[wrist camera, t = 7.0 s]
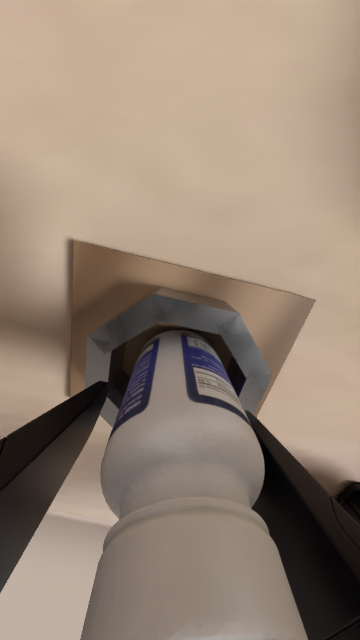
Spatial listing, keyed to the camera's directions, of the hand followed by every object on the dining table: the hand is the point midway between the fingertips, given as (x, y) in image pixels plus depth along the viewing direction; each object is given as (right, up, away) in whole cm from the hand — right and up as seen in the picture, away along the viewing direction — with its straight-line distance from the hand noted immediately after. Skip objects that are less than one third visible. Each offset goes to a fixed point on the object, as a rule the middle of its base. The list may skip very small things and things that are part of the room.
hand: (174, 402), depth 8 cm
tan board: (0, +1, +4) cm, 4 cm away
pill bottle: (0, +1, +3) cm, 4 cm away
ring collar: (0, +1, +4) cm, 4 cm away
